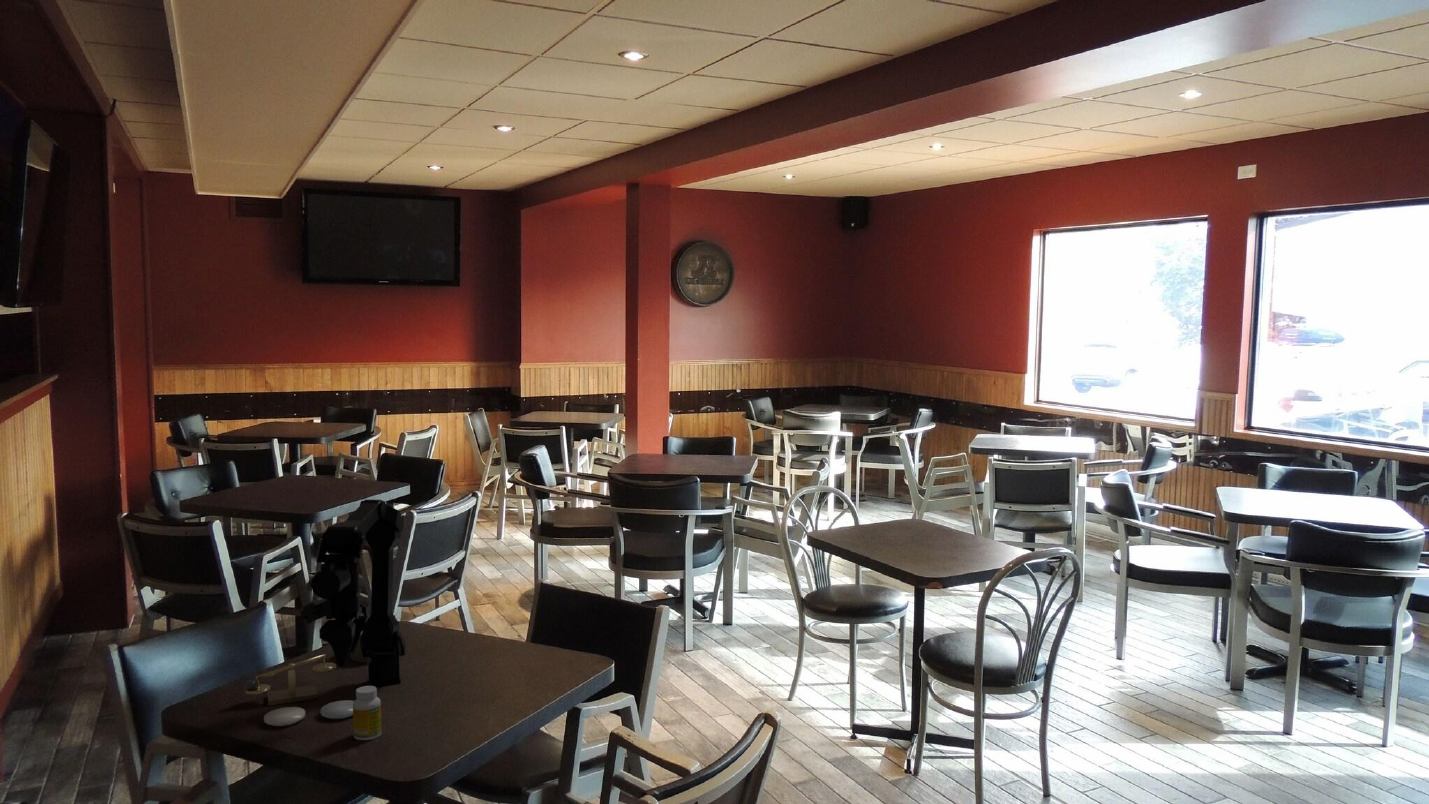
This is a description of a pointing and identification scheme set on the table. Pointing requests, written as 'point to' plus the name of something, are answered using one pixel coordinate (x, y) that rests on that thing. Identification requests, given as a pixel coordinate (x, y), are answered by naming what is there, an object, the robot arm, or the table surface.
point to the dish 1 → (284, 716)
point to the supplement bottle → (366, 714)
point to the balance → (293, 692)
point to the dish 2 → (338, 709)
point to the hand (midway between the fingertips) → (346, 659)
